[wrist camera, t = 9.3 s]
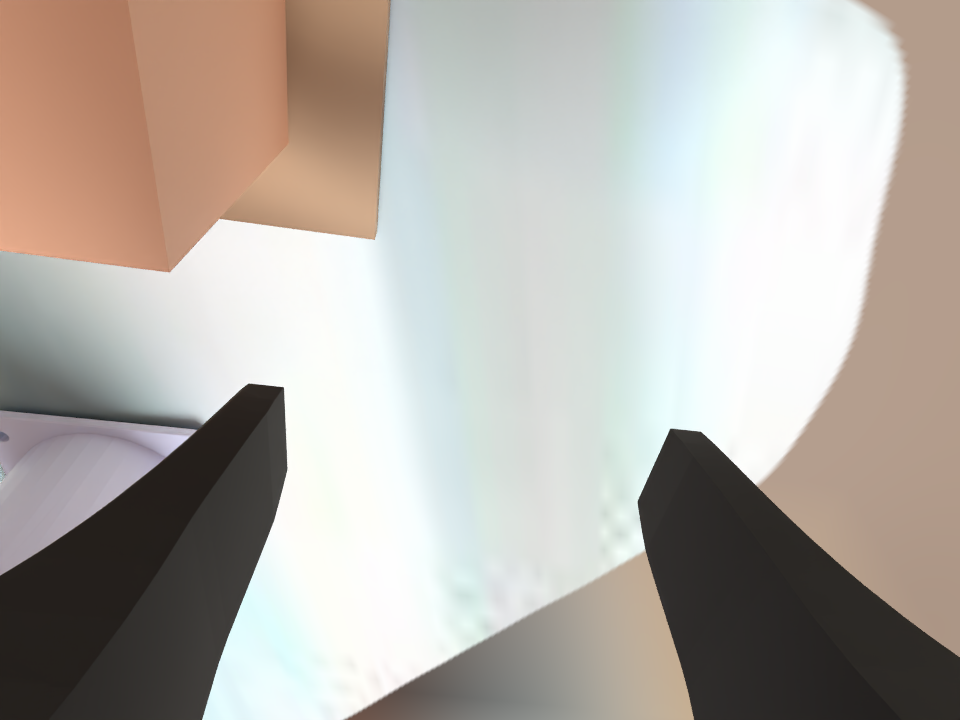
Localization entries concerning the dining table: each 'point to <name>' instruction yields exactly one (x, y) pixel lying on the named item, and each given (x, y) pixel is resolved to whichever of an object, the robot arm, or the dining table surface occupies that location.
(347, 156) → the walnut pad
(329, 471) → the dining table surface
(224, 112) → the terracotta block
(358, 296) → the dining table surface
